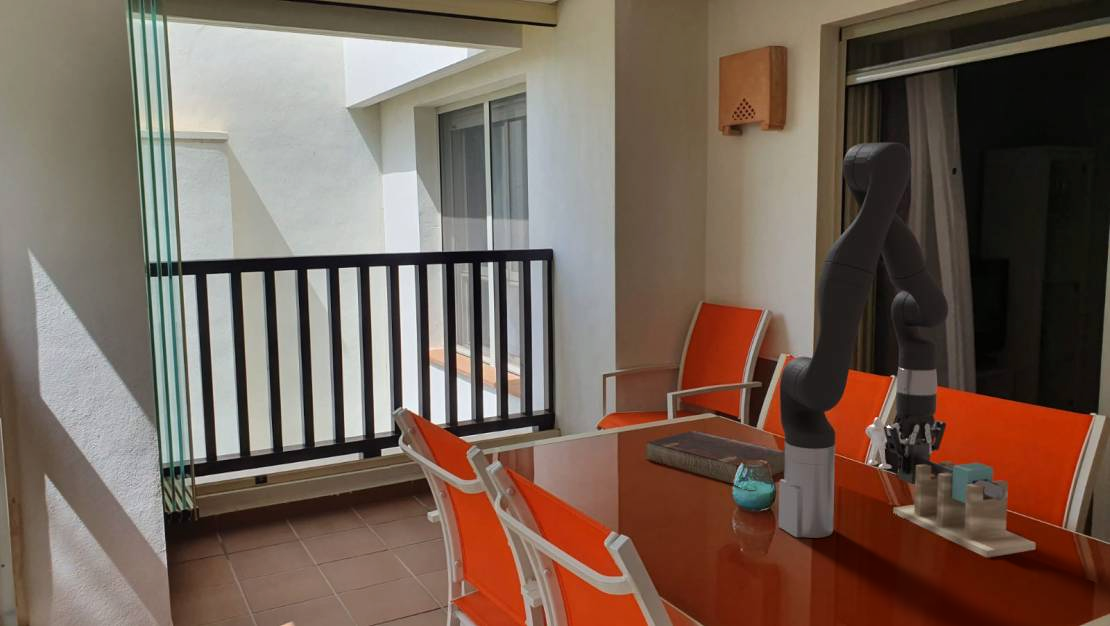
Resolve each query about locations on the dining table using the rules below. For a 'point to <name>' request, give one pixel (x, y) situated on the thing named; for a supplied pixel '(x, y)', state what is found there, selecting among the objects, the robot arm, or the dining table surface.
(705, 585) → the dining table surface
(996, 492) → the shaft
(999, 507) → the bracket
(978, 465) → the block
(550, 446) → the dining table surface
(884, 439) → the figurine
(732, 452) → the hardback book
